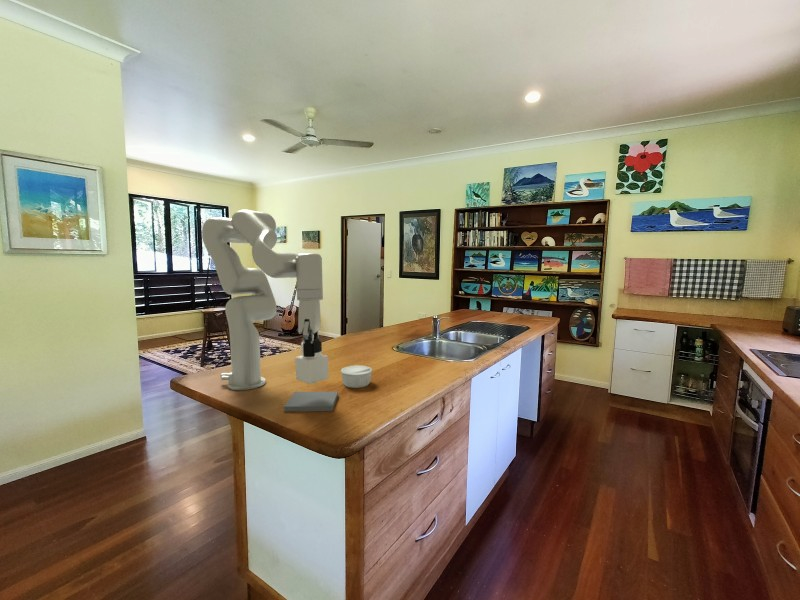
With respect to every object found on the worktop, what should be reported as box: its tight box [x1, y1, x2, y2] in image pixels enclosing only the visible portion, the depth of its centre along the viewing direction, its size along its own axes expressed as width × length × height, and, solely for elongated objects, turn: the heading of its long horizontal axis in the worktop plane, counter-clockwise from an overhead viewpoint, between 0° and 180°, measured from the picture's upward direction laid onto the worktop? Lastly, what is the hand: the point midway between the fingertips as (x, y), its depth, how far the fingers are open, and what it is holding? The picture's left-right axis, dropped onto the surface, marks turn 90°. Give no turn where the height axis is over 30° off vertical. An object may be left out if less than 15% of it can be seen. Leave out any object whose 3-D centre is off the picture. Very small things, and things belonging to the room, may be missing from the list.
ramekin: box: [340, 364, 373, 389], centre depth 128 cm, size 11×11×5 cm
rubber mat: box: [283, 390, 339, 413], centre depth 110 cm, size 14×12×2 cm
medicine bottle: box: [294, 339, 330, 385], centre depth 109 cm, size 7×7×12 cm
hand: (311, 353), depth 108 cm, fingers closed on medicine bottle, 6 cm apart
